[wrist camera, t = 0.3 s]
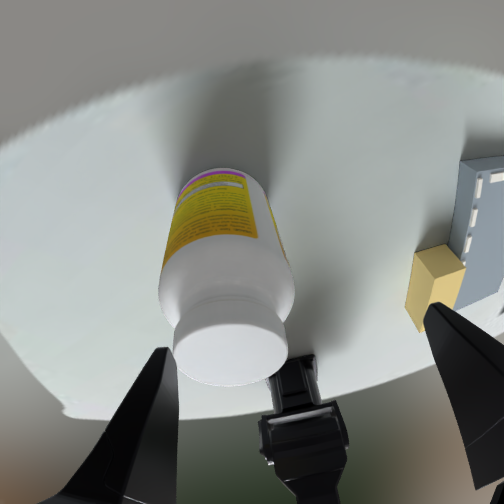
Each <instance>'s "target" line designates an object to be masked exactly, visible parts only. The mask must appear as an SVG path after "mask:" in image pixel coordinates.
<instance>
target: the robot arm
mask: <svg viewBox="0 0 504 504" xmlns="http://www.w3.org/2000/svg"><path fill="white" fill-rule="evenodd" d="M423 325H424V328H425V331H426V334H427V338H428V341H429V344H430V347H431V351H432V354H433V357H434V360H435V363H436V365H437V368H438V370H439V373H440V375H441V378H442V380H443V383H444V386H445V388H446V391H447V394H448V397H449V399H450V402H451V405H452V408H453V411H454V414H455V417H456V420H457V423H458V426H459V429H460V433H461V436H462V439H463V443H464V446H465V450H466V454H467V458H468V462H469V465H470V469H471V473H472V477H473V482H474V486H475V490H478V489H480V488H483V487H485V486H487V485H489V484H491V483H493V482H495V481H497V480H499V479H501V478H503V477H504V345H503V344H502V343H500V342H499V341H497V340H496V339H495V338H493V337H492V336H490V335H489V334H487V333H486V332H485V331H483V330H482V329H480V328H479V327H477V326H476V325H474V324H473V323H471V322H470V321H469V320H467V319H466V318H464V317H463V316H461V315H460V314H458V313H457V312H455V311H454V310H452V309H451V308H449V307H448V306H446V305H445V304H443V303H441V302H434V303H431V304H430V305H429V306H428V309H427V311H426V313H425V316H424V318H423ZM265 380H266V383H267V385H268V388H269V390H270V391H271V396H272V402H273V408H274V414H271V415H262V420H260V421H258V425H259V436H260V441H259V443H260V445H259V447H260V448H259V449H260V454H261V455H263V456H264V457H265V458H266V460H267V461H268V464H269V465H274V468H275V473H276V475H277V477H278V478H279V479H280V480H281V482H282V483H283V484H284V485H285V486H286V487H287V488H288V489H289V490H290V491H291V492H292V493H293V494H294V495H295V496H296V500H297V504H340V499H339V494H338V490H337V485H338V483H339V480H340V478H341V475H342V472H343V470H344V467H345V464H346V462H347V455H346V450H345V449H348V448H349V439H348V434H347V430H346V426H345V423H344V421H343V418H342V415H341V413H340V410H339V407H338V405H337V402H336V400H333V401H331V402H328V403H324V404H322V401H321V397H320V393H319V389H318V385H317V380H318V379H317V367H316V358H315V355H309V356H305V357H301V358H296V359H292V360H288V361H285V363H284V364H283V365H282V367H281V368H280V369H279V370H278V371H276V372H275V373H274V374H272V375H271V376H269V377H267V378H265ZM178 421H179V398H178V380H177V364H176V361H175V359H174V357H173V355H172V353H171V351H170V349H169V348H168V347H158V348H156V349H155V350H154V352H153V353H152V355H151V356H150V358H149V360H148V361H147V363H146V364H145V366H144V367H143V369H142V371H141V372H140V374H139V375H138V377H137V379H136V380H135V382H134V383H133V385H132V387H131V388H130V390H129V391H128V393H127V395H126V396H125V398H124V399H123V401H122V403H121V404H120V406H119V407H118V409H117V411H116V412H115V414H114V416H113V417H112V419H111V421H110V422H109V424H108V425H107V427H106V429H105V431H104V432H103V434H102V435H101V437H100V439H99V440H98V442H97V443H96V445H95V446H94V448H93V450H92V451H91V452H90V454H89V455H88V457H87V458H86V459H85V461H84V462H83V463H82V465H81V466H80V468H79V469H78V470H77V471H76V473H75V474H74V475H73V476H72V478H71V479H70V480H69V482H68V483H67V484H66V485H65V487H64V488H63V489H62V490H61V491H60V492H58V493H57V494H56V495H54V496H52V497H50V498H48V499H46V500H44V501H41V502H39V503H37V504H176V477H177V443H178ZM490 504H504V481H503V482H501V483H500V484H499V485H497V487H496V489H495V492H494V495H493V497H492V500H491V502H490Z"/></svg>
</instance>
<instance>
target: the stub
mask: <svg viewBox="0 0 504 504" xmlns="http://www.w3.org/2000/svg"><path fill="white" fill-rule="evenodd" d="M465 271H466V267H465V266H464V265H463V263H462V262H461V261H460V260H459V259H458V258H457V256H456V255H455V254H454V253H453V252H452V251H451V250H450V249H449V247H448V246H447V245H446V244H443V245H439V246H436V247H433V248H429V249H426V250H422V251H419V252H416V253H414V260H413V266H412V272H411V278H410V284H409V289H408V294H407V299H406V304H405V309H406V310H407V312H408V314H409V315H410V317H411V319H412V321H413V322H414V324H415V326H416V328H417V330H418V331H419V333H421V332H423V331H425V328H424V325H423V318H424V316H425V313H426V311H427V309H428V306H429V305H430V304H431V303H434V302H441V303H443V304H445V305H446V306H448V307H449V308H451V309H452V310H453V307H454V304H455V301H456V298H457V296H458V293H459V290H460V287H461V283H462V280H463V277H464V274H465Z"/></svg>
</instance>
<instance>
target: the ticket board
mask: <svg viewBox="0 0 504 504" xmlns="http://www.w3.org/2000/svg"><path fill="white" fill-rule="evenodd" d="M448 247H449V249H450V250H451V251H452V252H453V253H454V254H455V255H456V256H457V258H458V259H459V260H460V261H461V262H462V263H463V265H464V266H465V267H466V271H465V274H464V277H463V280H462V283H461V287H460V290H459V293H458V296H457V298H456V301H455V304H454V307H453V310H454V311H456V310H459V309H461V308H463V307H465V306H468V305H470V304H472V303H475V302H477V301H479V300H481V299H483V298H485V297H488V296H490V295H492V294H494V293H496V292H498V290H499V287H500V285H501V282H502V280H503V277H504V156H496V157H488V158H480V159H472V160H465V161H460V167H459V178H458V187H457V195H456V202H455V209H454V216H453V222H452V228H451V233H450V238H449V243H448Z"/></svg>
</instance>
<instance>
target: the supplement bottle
mask: <svg viewBox="0 0 504 504" xmlns="http://www.w3.org/2000/svg"><path fill="white" fill-rule="evenodd" d="M158 295H159V302H160V306H161V309H162V312H163V314H164V316H165V317H166V319H167V320H168V322H169V323H170V324H171V325H172V326H173V327H174V328H175V331H174V340H173V357H174V359H175V361H176V364H177V367H178V368H179V370H180V371H181V372H183V373H184V374H185V375H186V376H188V377H189V378H191V379H193V380H196V381H198V382H201V383H205V384H209V385H215V386H241V385H246V384H251V383H254V382H258V381H260V380H263V379H265V378H267V377H269V376H271V375H272V374H274V373H275V372H276V371H278V370H279V369H280V368H281V367H282V365H283V364H284V363H285V361H286V359H287V355H288V344H287V339H286V333H285V327H284V324H283V322H284V321H285V320H286V318H287V316H288V315H289V313H290V311H291V308H292V306H293V302H294V296H295V284H294V279H293V275H292V272H291V269H290V266H289V263H288V260H287V257H286V254H285V251H284V248H283V245H282V242H281V238H280V235H279V232H278V229H277V226H276V223H275V220H274V217H273V214H272V210H271V208H270V205H269V202H268V199H267V197H266V194H265V192H264V190H263V189H262V187H261V186H260V184H259V183H258V182H257V181H256V180H255V179H254V178H252V177H251V176H249V175H248V174H246V173H244V172H242V171H239V170H236V169H231V168H215V169H210V170H207V171H204V172H202V173H200V174H198V175H196V176H195V177H193V178H192V179H191V180H190V181H188V182H187V184H186V185H185V186H184V187H183V189H182V190H181V192H180V194H179V196H178V199H177V202H176V206H175V210H174V214H173V218H172V223H171V228H170V232H169V237H168V241H167V246H166V251H165V255H164V260H163V265H162V270H161V275H160V281H159V288H158Z"/></svg>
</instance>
